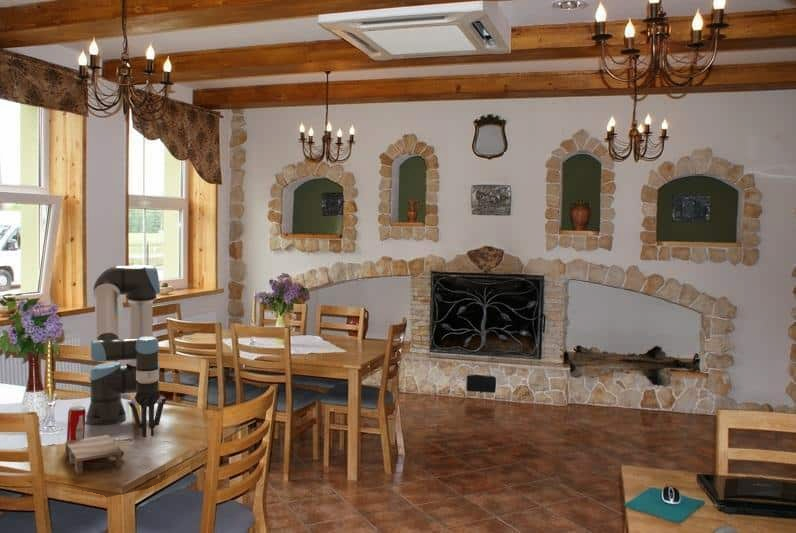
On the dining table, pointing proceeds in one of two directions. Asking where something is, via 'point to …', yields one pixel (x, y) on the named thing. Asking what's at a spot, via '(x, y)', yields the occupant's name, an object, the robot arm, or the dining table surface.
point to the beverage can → (76, 423)
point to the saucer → (101, 461)
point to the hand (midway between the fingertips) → (147, 445)
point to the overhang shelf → (91, 451)
